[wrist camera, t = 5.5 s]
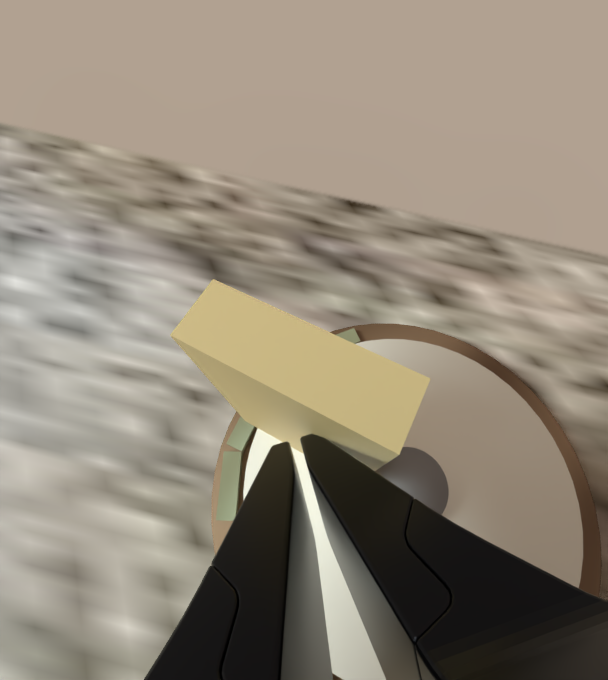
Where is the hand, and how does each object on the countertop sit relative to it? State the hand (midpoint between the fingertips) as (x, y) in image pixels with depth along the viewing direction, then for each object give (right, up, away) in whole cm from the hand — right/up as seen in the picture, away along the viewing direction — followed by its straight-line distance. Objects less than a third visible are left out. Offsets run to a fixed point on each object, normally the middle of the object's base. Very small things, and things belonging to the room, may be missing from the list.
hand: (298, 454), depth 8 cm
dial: (+3, -3, +5) cm, 6 cm away
